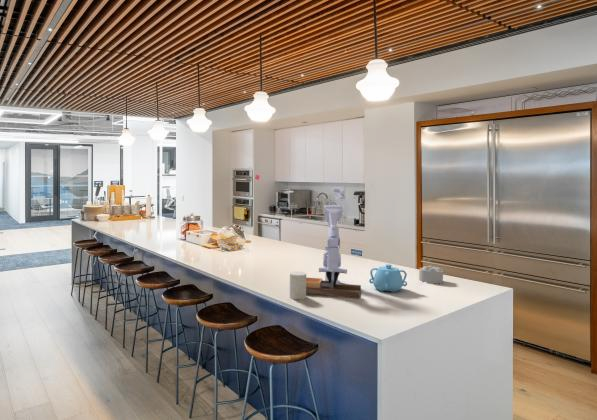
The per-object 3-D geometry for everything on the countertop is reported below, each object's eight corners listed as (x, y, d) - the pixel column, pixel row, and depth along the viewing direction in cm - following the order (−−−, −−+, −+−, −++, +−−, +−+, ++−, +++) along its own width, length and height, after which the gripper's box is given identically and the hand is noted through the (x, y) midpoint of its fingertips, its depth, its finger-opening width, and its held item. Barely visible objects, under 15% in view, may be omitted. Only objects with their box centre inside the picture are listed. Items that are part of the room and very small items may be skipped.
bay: (297, 287, 229) (297, 274, 229) (360, 291, 223) (361, 278, 222) (292, 293, 217) (292, 280, 216) (359, 298, 210) (359, 284, 209)
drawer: (305, 286, 226) (305, 277, 226) (334, 288, 223) (335, 279, 223) (302, 291, 217) (302, 281, 217) (332, 293, 214) (332, 283, 214)
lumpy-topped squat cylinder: (443, 284, 239) (443, 269, 239) (419, 282, 243) (419, 267, 242) (441, 280, 249) (442, 265, 249) (418, 278, 253) (419, 264, 252)
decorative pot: (391, 284, 238) (392, 260, 237) (409, 292, 223) (410, 266, 222) (366, 287, 231) (367, 262, 230) (383, 295, 217) (384, 268, 216)
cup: (291, 300, 205) (292, 275, 204) (287, 295, 213) (288, 271, 212) (307, 298, 208) (308, 274, 207) (303, 294, 215) (303, 271, 214)
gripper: (317, 261, 215) (317, 287, 216) (346, 262, 212) (345, 289, 213) (320, 258, 222) (319, 283, 223) (347, 260, 219) (347, 285, 220)
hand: (332, 286), depth 219 cm, fingers closed on drawer
